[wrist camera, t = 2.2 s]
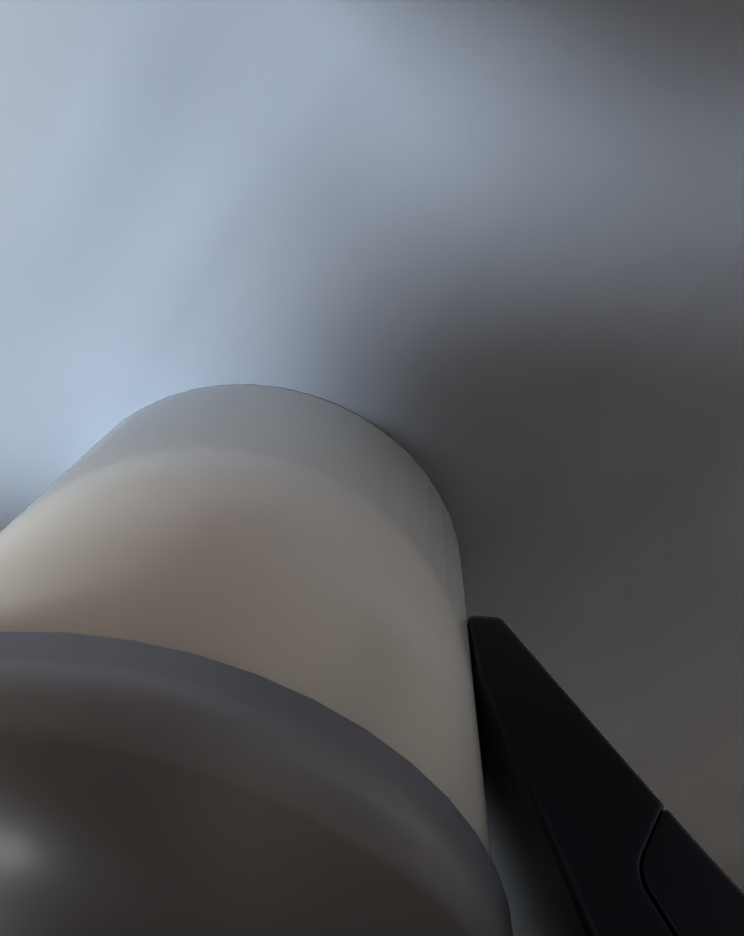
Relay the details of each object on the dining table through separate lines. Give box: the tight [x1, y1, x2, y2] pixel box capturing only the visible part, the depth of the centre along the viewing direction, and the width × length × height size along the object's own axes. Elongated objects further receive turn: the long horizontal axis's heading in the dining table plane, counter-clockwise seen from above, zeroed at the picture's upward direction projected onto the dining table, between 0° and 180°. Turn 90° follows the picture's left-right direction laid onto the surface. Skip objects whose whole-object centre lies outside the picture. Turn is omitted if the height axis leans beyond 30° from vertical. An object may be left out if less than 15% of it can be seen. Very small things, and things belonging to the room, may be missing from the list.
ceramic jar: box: [0, 385, 513, 936], centre depth 8 cm, size 6×6×6 cm
